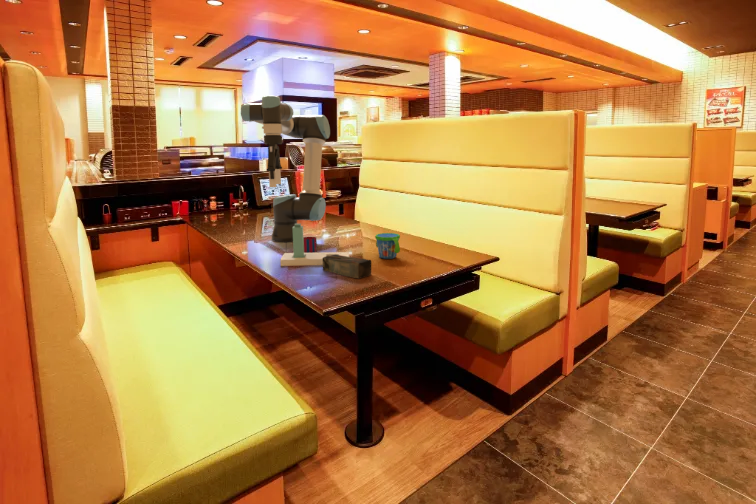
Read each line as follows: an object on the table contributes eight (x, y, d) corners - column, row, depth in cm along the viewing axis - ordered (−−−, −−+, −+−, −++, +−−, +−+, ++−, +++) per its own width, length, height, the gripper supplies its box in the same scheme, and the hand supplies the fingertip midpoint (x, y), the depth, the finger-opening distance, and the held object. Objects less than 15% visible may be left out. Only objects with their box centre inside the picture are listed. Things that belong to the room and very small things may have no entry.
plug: (295, 260, 204) (293, 223, 201) (304, 260, 205) (302, 223, 201) (294, 263, 200) (292, 224, 197) (303, 262, 201) (302, 224, 197)
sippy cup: (369, 255, 216) (369, 232, 214) (390, 252, 221) (390, 231, 218) (384, 262, 202) (384, 239, 200) (406, 260, 207) (406, 236, 205)
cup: (317, 253, 220) (316, 239, 218) (294, 254, 218) (294, 239, 217) (316, 250, 226) (316, 236, 224) (295, 251, 225) (294, 236, 223)
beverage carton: (335, 267, 196) (335, 252, 194) (372, 275, 184) (372, 258, 183) (322, 272, 189) (321, 255, 188) (359, 280, 178) (359, 263, 177)
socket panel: (284, 259, 208) (284, 253, 207) (349, 258, 210) (349, 252, 209) (280, 266, 196) (280, 259, 196) (349, 265, 198) (348, 258, 197)
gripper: (268, 135, 213) (271, 183, 218) (258, 134, 188) (261, 188, 193) (285, 134, 213) (288, 182, 218) (277, 134, 189) (280, 188, 194)
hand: (275, 185), depth 206 cm, fingers open, 13 cm apart
